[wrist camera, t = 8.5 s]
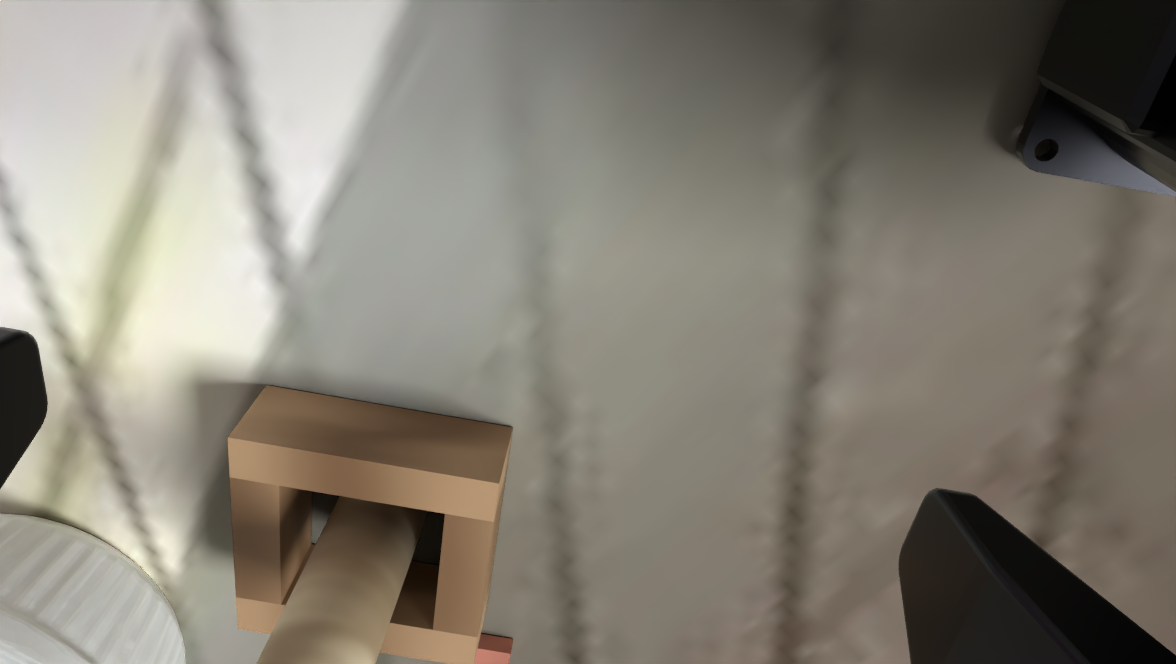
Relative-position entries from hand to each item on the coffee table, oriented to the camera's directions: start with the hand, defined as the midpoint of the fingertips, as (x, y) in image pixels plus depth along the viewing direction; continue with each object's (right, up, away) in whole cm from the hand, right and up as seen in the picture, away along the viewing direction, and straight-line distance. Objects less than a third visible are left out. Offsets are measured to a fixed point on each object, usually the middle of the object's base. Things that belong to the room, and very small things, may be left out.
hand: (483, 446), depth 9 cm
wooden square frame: (-5, -5, +18) cm, 19 cm away
